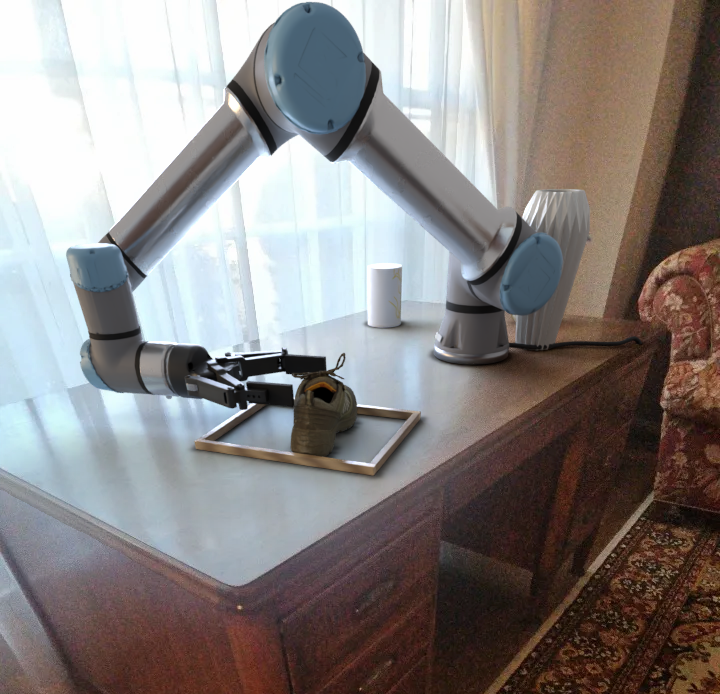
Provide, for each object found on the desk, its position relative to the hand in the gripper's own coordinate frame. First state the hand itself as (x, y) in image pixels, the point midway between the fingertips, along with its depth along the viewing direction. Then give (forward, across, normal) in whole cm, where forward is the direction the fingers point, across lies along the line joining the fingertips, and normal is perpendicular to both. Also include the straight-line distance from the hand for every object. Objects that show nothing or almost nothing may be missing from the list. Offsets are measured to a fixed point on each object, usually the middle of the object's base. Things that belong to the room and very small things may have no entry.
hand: (310, 380), depth 82 cm
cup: (-8, -72, -8) cm, 73 cm away
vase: (+29, -59, -8) cm, 66 cm away
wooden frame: (0, -1, -8) cm, 8 cm away
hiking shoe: (+1, -1, -8) cm, 8 cm away
